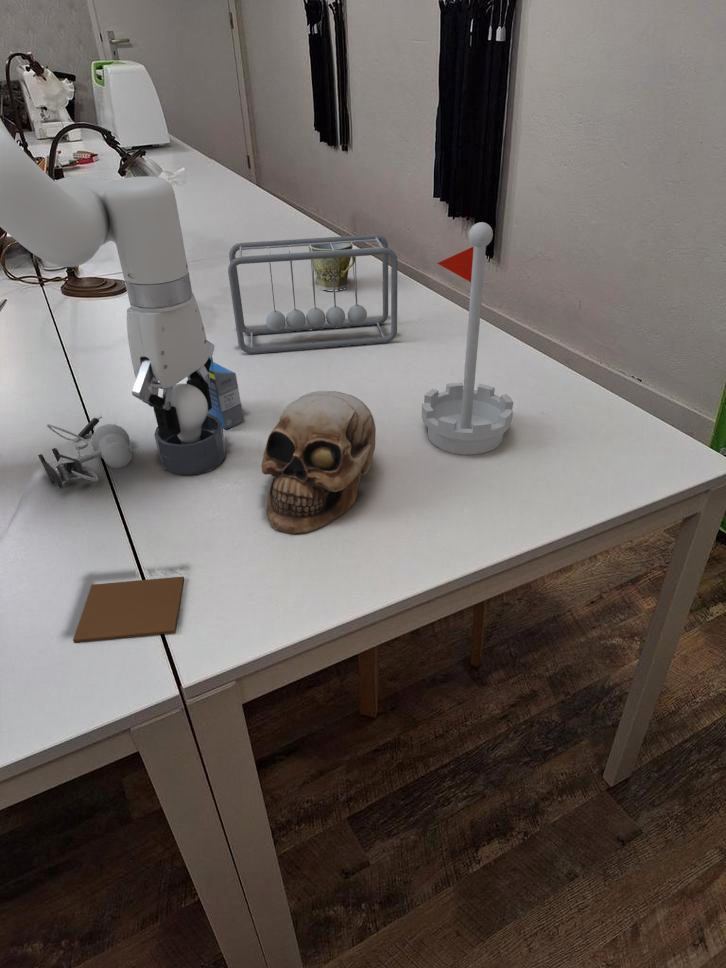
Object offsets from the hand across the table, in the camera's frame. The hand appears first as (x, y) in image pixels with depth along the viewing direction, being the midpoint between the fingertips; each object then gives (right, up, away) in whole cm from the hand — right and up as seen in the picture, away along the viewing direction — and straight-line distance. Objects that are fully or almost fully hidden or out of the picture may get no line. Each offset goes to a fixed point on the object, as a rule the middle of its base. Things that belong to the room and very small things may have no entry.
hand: (186, 418), depth 89 cm
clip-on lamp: (-15, -6, +4) cm, 16 cm away
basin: (0, -5, +4) cm, 7 cm away
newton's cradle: (+15, +19, +39) cm, 46 cm away
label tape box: (+1, +2, +14) cm, 14 cm away
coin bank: (+19, -10, -3) cm, 21 cm away
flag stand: (+39, -2, +8) cm, 40 cm away
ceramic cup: (+18, +36, +63) cm, 75 cm away
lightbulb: (0, -5, +4) cm, 6 cm away
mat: (0, -22, -20) cm, 30 cm away
